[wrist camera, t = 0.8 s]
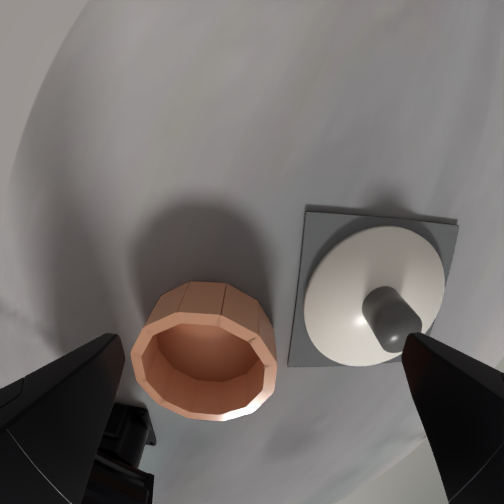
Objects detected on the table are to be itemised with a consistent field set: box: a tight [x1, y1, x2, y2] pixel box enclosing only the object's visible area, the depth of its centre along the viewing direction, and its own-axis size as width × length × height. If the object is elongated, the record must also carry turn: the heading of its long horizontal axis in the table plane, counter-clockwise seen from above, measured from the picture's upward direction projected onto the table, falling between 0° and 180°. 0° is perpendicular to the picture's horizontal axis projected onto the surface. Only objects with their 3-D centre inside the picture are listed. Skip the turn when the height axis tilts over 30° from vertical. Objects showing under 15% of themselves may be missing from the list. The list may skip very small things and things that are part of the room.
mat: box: [287, 211, 459, 367], centre depth 22 cm, size 13×13×1 cm
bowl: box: [130, 281, 277, 421], centre depth 22 cm, size 10×10×4 cm
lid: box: [303, 226, 445, 366], centre depth 20 cm, size 12×12×5 cm
